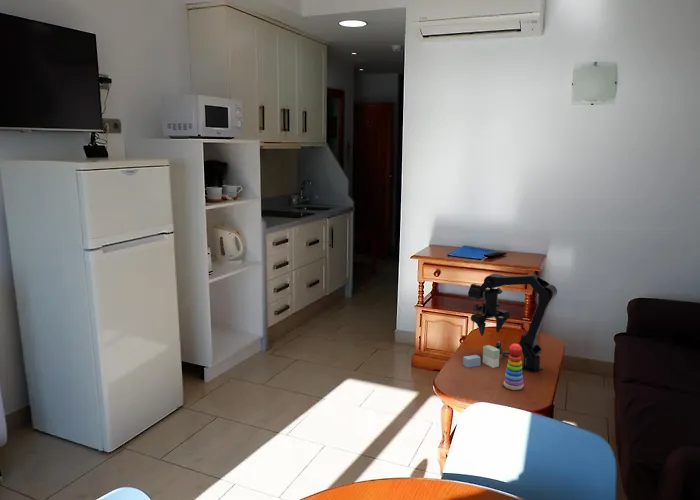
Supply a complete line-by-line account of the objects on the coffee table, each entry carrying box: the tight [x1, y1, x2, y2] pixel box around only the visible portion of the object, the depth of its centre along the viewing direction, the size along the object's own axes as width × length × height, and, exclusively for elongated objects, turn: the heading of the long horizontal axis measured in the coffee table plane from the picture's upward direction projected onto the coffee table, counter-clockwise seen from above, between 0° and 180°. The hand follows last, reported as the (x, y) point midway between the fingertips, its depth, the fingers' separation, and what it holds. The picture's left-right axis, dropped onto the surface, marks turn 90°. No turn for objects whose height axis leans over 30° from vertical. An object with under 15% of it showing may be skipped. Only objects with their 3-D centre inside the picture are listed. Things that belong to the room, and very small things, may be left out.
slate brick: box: [462, 354, 482, 368], centre depth 246 cm, size 7×4×4 cm, turn 111°
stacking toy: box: [503, 343, 524, 391], centre depth 222 cm, size 8×8×19 cm
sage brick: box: [482, 344, 500, 360], centre depth 245 cm, size 7×4×4 cm, turn 27°
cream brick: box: [482, 354, 500, 369], centre depth 246 cm, size 7×4×4 cm, turn 24°
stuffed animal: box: [494, 341, 511, 359], centre depth 260 cm, size 12×10×12 cm
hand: (489, 333), depth 251 cm, fingers open, 9 cm apart
